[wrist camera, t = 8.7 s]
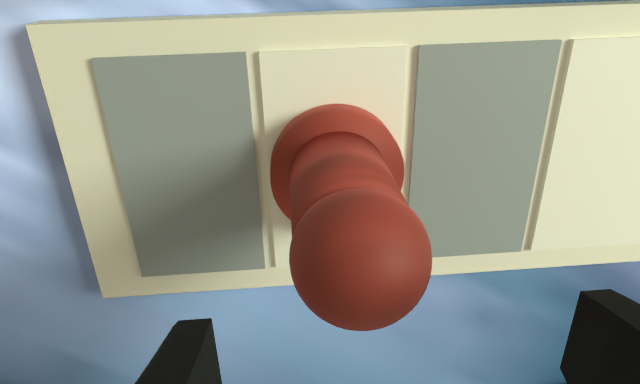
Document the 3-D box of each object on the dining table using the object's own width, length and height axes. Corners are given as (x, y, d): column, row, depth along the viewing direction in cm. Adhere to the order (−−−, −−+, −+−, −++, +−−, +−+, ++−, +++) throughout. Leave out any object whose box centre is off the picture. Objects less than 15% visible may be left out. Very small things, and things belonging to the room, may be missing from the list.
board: (763, 238, 21) (789, 253, 20) (110, 282, 19) (101, 301, 18) (875, -8, 17) (917, -6, 16) (40, 20, 15) (22, 25, 14)
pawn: (394, 217, 18) (463, 371, 11) (274, 224, 17) (273, 387, 11) (400, 100, 16) (489, 204, 9) (265, 106, 15) (258, 217, 9)
